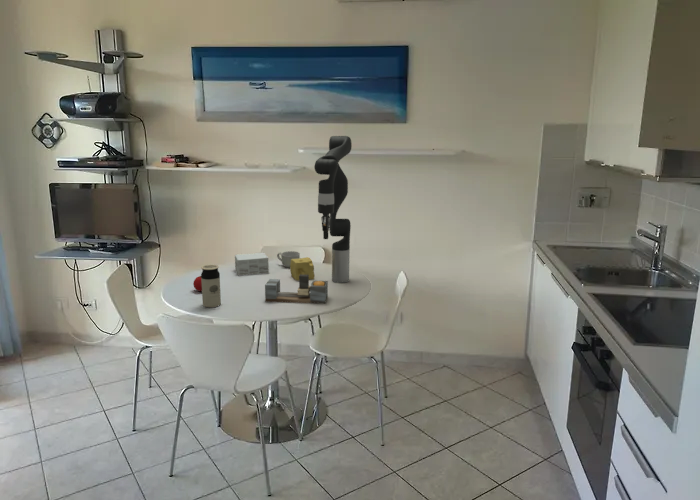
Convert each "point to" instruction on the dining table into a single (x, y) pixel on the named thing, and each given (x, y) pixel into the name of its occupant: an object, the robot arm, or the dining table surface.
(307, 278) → the carriage
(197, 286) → the tomato
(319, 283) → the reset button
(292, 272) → the cheese
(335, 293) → the dining table surface
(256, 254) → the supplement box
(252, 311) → the dining table surface
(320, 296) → the stand
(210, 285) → the travel mug
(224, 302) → the dining table surface
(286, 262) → the teacup
